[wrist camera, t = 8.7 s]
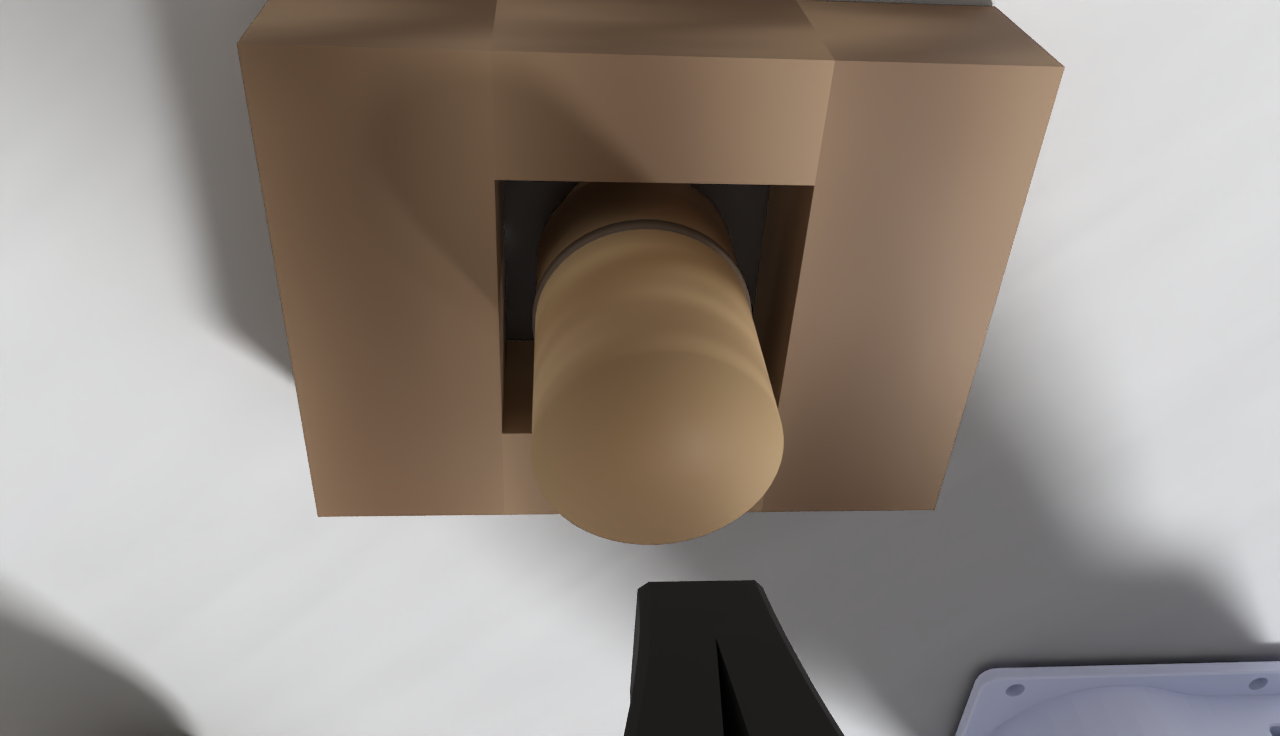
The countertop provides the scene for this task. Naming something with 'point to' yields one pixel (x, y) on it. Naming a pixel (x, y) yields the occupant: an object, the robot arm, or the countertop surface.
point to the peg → (647, 367)
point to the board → (649, 153)
